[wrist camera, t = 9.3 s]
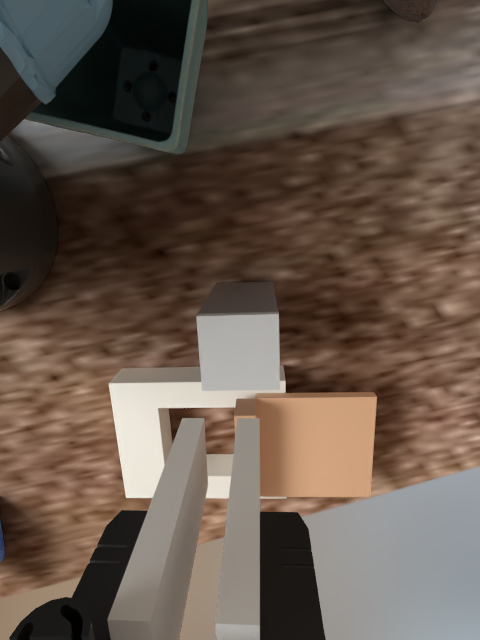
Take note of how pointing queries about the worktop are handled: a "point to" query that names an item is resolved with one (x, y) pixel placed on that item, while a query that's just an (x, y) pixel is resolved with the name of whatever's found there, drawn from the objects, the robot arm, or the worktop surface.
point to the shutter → (313, 442)
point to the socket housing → (165, 424)
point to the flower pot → (136, 76)
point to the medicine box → (1, 545)
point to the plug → (239, 337)
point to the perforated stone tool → (411, 8)
